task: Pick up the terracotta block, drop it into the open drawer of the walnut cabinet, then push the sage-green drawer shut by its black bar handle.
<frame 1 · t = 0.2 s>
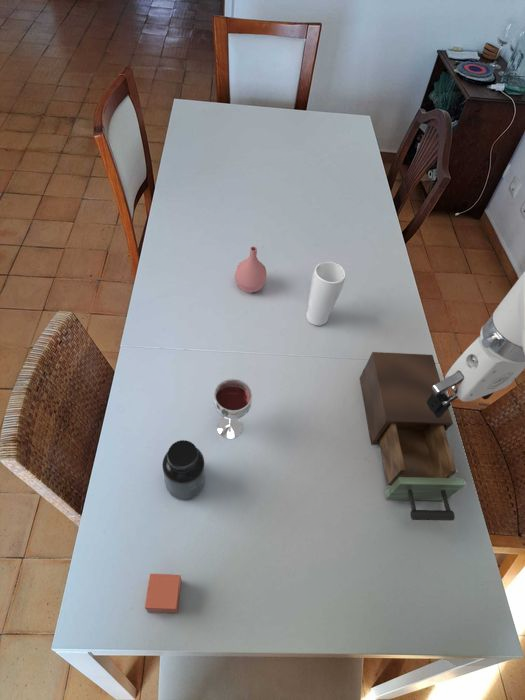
hand: (456, 400, 74), 19 cm above the table, tool pointing down, fingers open, 9 cm apart
block: (165, 596, 70), on the table
drinking glass: (316, 318, 108), on the table
cabinet: (394, 410, 95), on the table
supplement bottle: (185, 482, 81), on the table
pink bulb vase: (249, 287, 112), on the table
wineglass: (230, 427, 89), on the table
drawer: (418, 466, 82), point 5 cm above the table, slide at 10.0 cm
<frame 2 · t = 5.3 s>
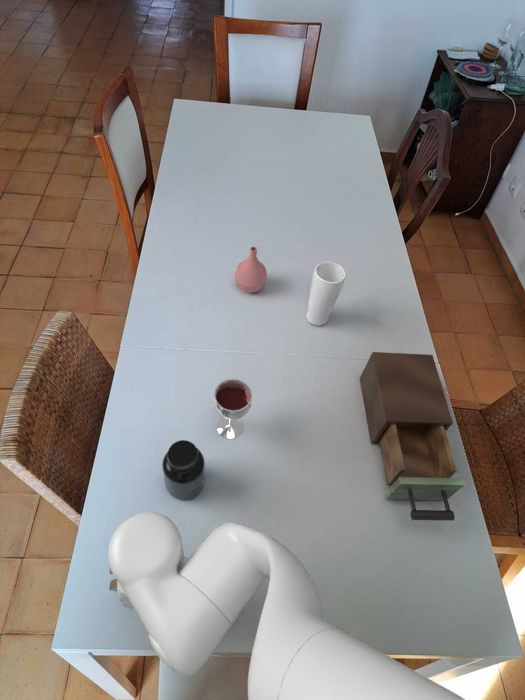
hand: (164, 595, 70), 0 cm above the table, tool pointing down, fingers closed on block, 4 cm apart
block: (165, 596, 70), on the table, touching gripper
everything else where it was.
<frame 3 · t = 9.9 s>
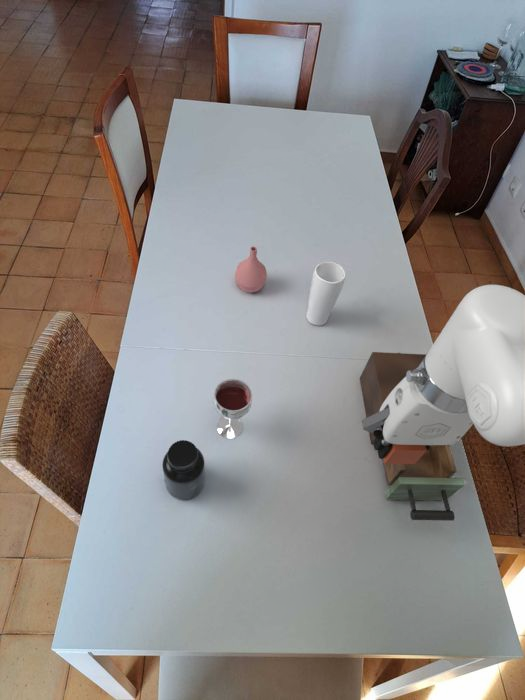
hand: (397, 448, 66), 21 cm above the table, tool pointing down, fingers closed on block, 4 cm apart
block: (396, 449, 66), point 21 cm above the table, touching gripper
everything else where it was.
when the fingers open (8 cm above the table, at t = 14.4 s): block drops 6 cm, resting on drawer.
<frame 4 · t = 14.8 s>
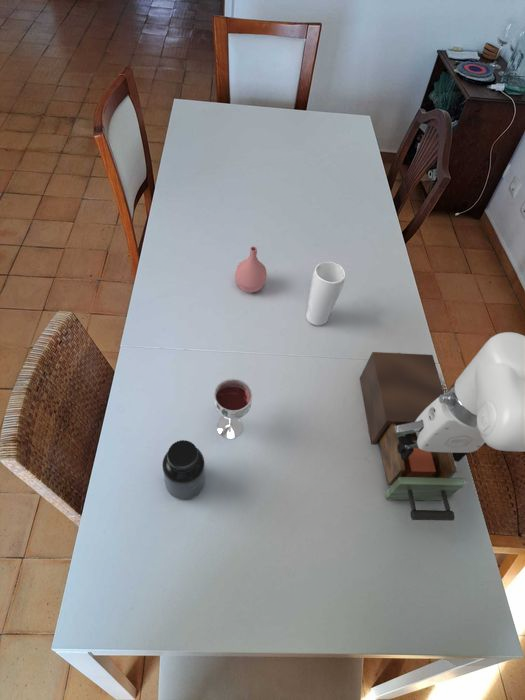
hand: (427, 452, 79), 10 cm above the table, tool pointing down, fingers open, 9 cm apart
block: (411, 469, 85), point 2 cm above the table, touching drawer
drawer: (418, 466, 82), point 5 cm above the table, slide at 10.0 cm, touching block
everything else where it was.
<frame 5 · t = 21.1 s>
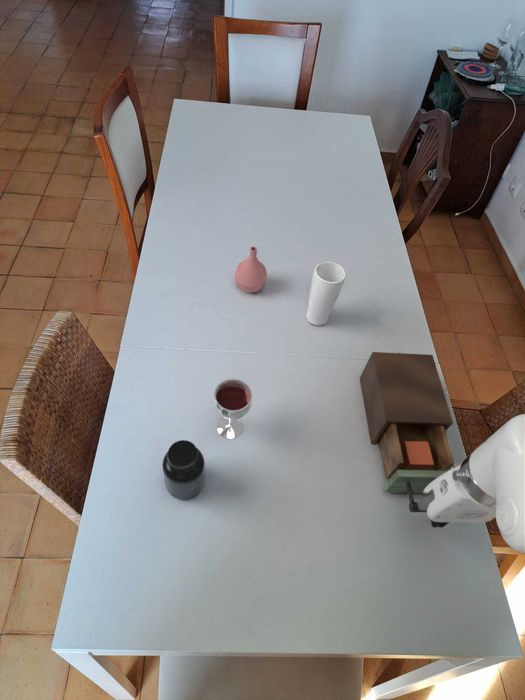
hand: (434, 517, 75), 6 cm above the table, tool pointing down, fingers closed
block: (410, 462, 86), point 2 cm above the table, touching drawer
drawer: (416, 459, 83), point 5 cm above the table, slide at 8.7 cm, touching block, gripper
everything else where it was.
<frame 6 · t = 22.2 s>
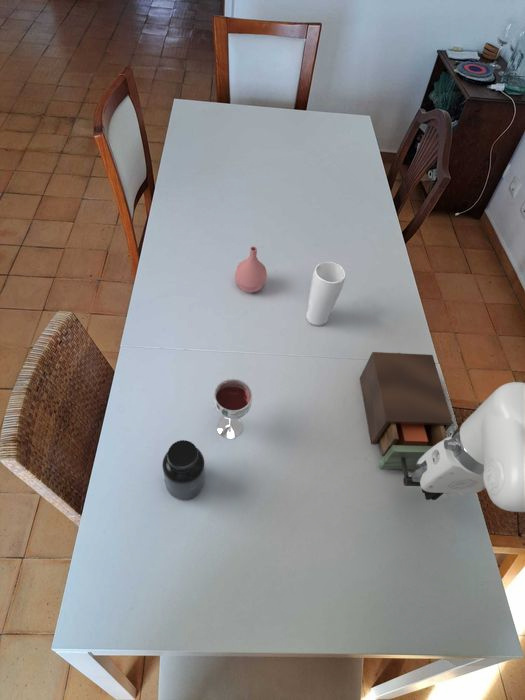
hand: (428, 491, 78), 6 cm above the table, tool pointing down, fingers closed
block: (405, 440, 88), point 2 cm above the table, touching drawer
drawer: (411, 437, 86), point 5 cm above the table, slide at 4.2 cm, touching block, gripper
everything else where it was.
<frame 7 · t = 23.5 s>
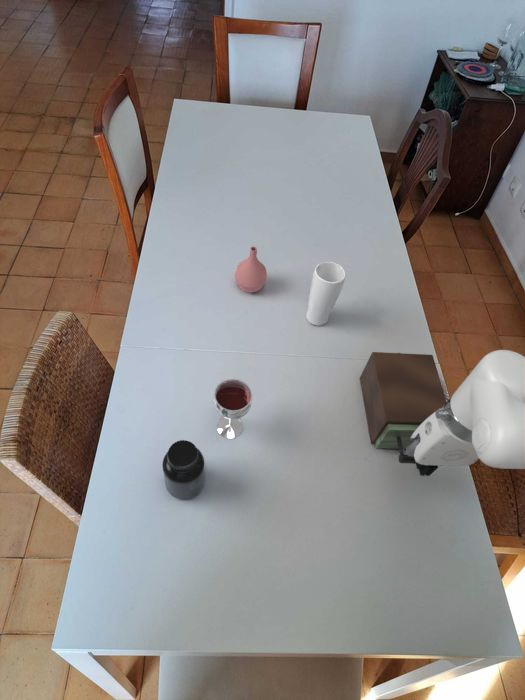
hand: (422, 467, 81), 6 cm above the table, tool pointing down, fingers closed
block: (401, 421, 91), point 2 cm above the table, touching drawer
drawer: (406, 417, 88), point 5 cm above the table, slide at 0.0 cm, touching block, cabinet, gripper
everything else where it was.
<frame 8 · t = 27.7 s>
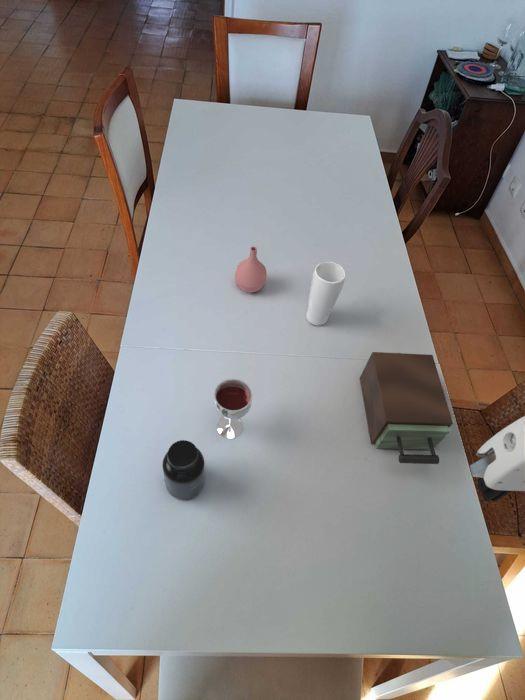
hand: (486, 490, 61), 23 cm above the table, tool pointing down, fingers closed
drawer: (406, 417, 88), point 5 cm above the table, slide at 0.0 cm, touching block
everything else where it was.
at the end: block inside the target area in the cabinet (3.6 cm from its centre), point 2.0 cm above the cabinet's base; drawer slide at 0.0 cm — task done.
